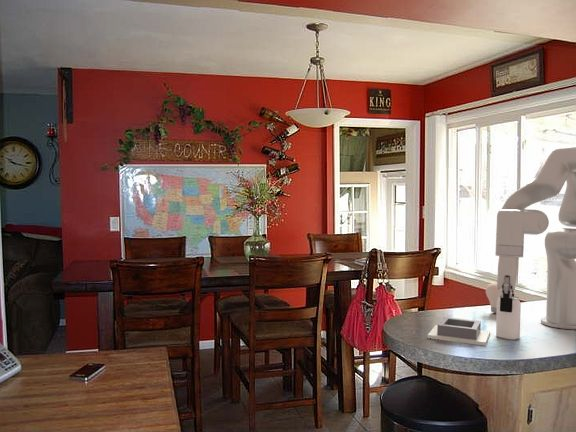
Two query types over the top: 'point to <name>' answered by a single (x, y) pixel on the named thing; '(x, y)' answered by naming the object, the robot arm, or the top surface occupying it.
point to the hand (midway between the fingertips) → (506, 308)
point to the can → (509, 321)
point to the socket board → (460, 331)
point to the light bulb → (493, 296)
